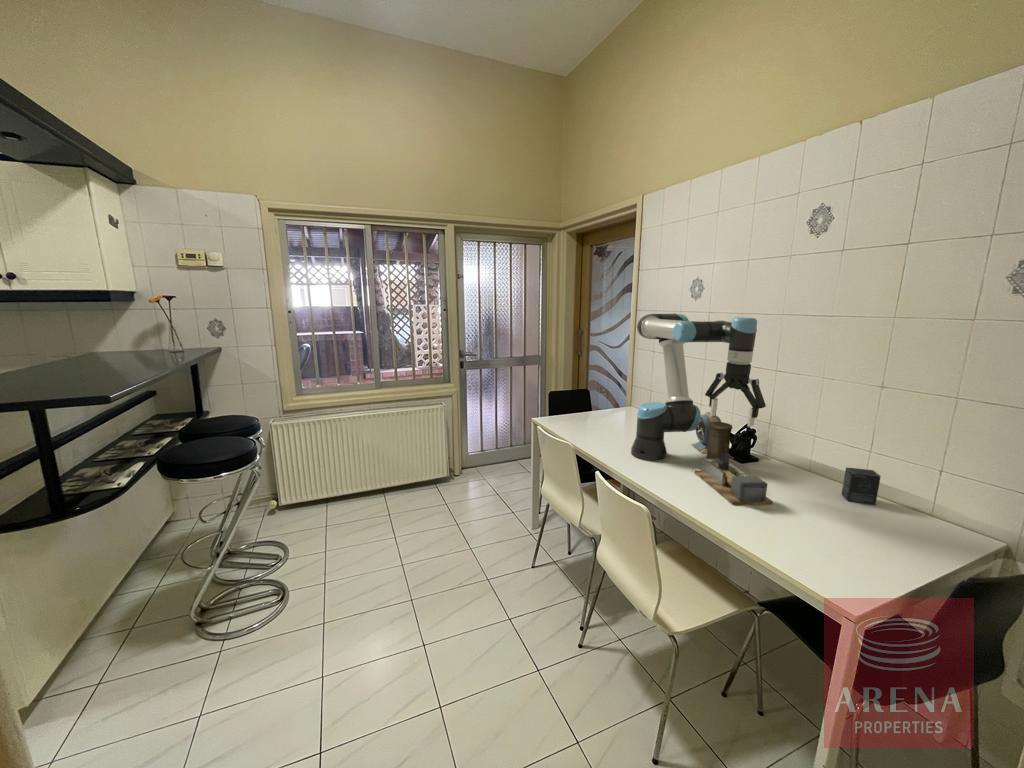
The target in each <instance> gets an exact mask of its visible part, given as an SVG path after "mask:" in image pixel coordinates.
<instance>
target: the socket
mask: <svg viewBox="0 0 1024 768" xmlns="http://www.w3.org/2000/svg"><path fill="white" fill-rule="evenodd" d="M767 490H768V482H766V481H764V480H763V479H761V478H760V477H758V476H757V475H744V476H732V484H731V492H730V494H731V495H733V496H734V497H735V498H736V499H738V500H739V501H740V502H765V499H766V497H767Z"/></svg>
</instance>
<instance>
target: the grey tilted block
mask: <svg viewBox="0 0 1024 768" xmlns="http://www.w3.org/2000/svg"><path fill="white" fill-rule="evenodd" d="M719 459H720V458H714V459H706V458H703V459H702V468H701V469H702V471H703V472H705V473H706V474H707V475H708V476H710V477H711V478H712V479H713V480H715V481H716V482H717V483H718V484H720V485H721V486H725V480H726V473H725V472H724V471H723V470H721V469H720V468H719V467H717V466H716V465H714V464H713V462H716V463H718V464H719ZM728 471H729V472H731V473H732V474H734V475H735V476H745V472H743V471H742V470H740V469H739V468H738V467H736V466H735V465H733V464H732V463H731V462H729V467H728Z"/></svg>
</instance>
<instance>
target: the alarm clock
mask: <svg viewBox="0 0 1024 768" xmlns="http://www.w3.org/2000/svg"><path fill="white" fill-rule="evenodd" d="M711 422H722V420H721V418H720V417H719V416H718V415H716V416H712V417H711V416H710V411H707V412H705V413H703V414H701V418H700V423H699V425H698V427H697V428H696V429H695V434H696V437H697V440H698V442H694V443H691V444H690V445H691V446H692V447H693V448H694V449H695V450H696V451H698V452H699V453H700V454H701V455H707V451H708V444H709V435H710V434H709V433H710V425H709V424H710V423H711Z"/></svg>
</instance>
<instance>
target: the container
mask: <svg viewBox="0 0 1024 768" xmlns="http://www.w3.org/2000/svg"><path fill="white" fill-rule="evenodd" d="M709 425H710V433H709V434H710V435H709V444H708V451H707V454H706V457H705V459H714V458H720V452H727V453H728V454H729V453H730V452H729V451H730V443H731V433H732V429H733V425H732V424H730V423H728V422H723V421H721V422H711V423H710V424H709Z"/></svg>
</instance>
